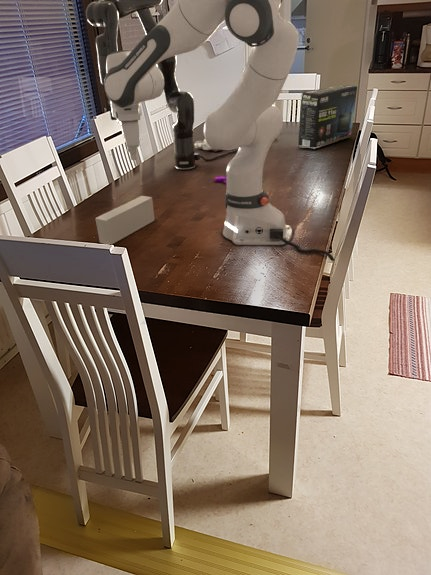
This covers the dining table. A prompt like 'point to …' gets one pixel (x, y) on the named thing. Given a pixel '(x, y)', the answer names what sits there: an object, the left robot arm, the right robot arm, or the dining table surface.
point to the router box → (326, 115)
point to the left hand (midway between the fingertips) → (116, 117)
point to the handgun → (220, 179)
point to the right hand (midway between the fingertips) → (132, 155)
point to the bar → (125, 220)
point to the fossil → (204, 145)
